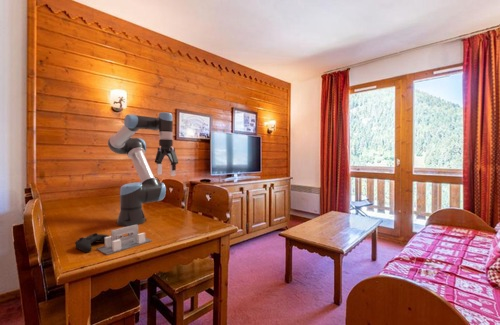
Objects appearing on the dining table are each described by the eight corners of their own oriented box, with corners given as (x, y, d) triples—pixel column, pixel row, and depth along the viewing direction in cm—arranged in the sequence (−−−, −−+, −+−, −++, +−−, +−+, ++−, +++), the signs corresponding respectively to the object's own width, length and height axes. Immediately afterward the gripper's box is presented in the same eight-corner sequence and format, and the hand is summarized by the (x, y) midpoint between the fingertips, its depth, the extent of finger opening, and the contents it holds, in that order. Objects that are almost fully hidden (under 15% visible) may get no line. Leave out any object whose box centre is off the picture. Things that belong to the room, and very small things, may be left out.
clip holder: (96, 249, 105) (96, 239, 105) (140, 236, 121) (140, 227, 121) (107, 255, 99) (106, 244, 99) (151, 241, 116) (151, 231, 115)
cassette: (137, 239, 116) (136, 223, 115) (139, 240, 115) (139, 224, 114) (110, 247, 106) (110, 230, 106) (112, 248, 105) (112, 231, 105)
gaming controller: (89, 243, 101) (69, 237, 103) (87, 257, 101) (67, 250, 103) (114, 232, 115) (96, 227, 117) (112, 244, 115) (94, 239, 117)
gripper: (148, 139, 147) (148, 174, 148) (173, 138, 132) (173, 177, 133) (159, 140, 153) (159, 173, 154) (184, 139, 138) (184, 176, 139)
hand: (166, 175), depth 143 cm, fingers open, 13 cm apart
